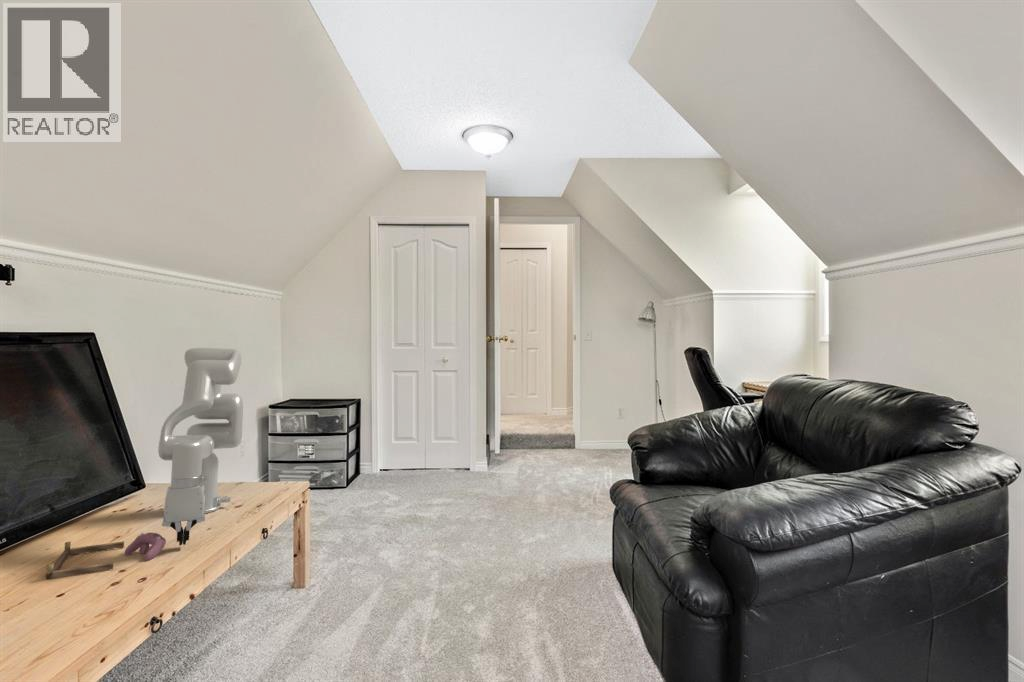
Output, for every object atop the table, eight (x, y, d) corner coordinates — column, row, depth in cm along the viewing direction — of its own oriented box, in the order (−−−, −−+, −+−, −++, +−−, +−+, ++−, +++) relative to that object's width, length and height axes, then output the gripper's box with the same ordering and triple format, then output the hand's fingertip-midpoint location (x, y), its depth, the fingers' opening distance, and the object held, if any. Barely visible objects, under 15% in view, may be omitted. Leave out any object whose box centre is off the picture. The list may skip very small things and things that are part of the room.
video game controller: (160, 562, 137) (172, 536, 140) (145, 561, 133) (158, 534, 136) (136, 556, 140) (148, 531, 143) (121, 554, 136) (134, 528, 139)
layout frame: (123, 546, 142) (124, 534, 142) (112, 569, 128) (113, 556, 128) (64, 554, 135) (65, 542, 135) (45, 579, 121) (46, 566, 121)
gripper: (215, 476, 150) (212, 534, 150) (156, 481, 142) (153, 542, 142) (215, 482, 144) (211, 543, 143) (153, 488, 136) (149, 552, 136)
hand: (182, 543), depth 143 cm, fingers closed
